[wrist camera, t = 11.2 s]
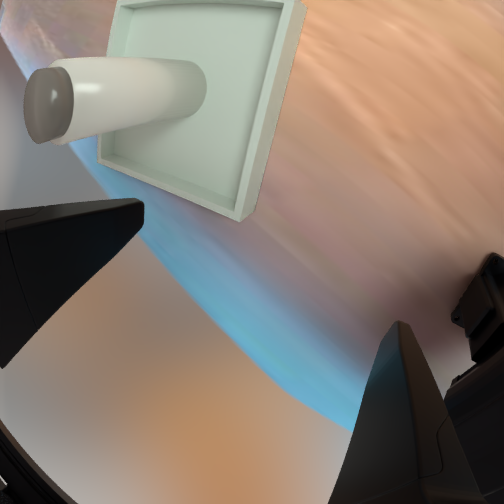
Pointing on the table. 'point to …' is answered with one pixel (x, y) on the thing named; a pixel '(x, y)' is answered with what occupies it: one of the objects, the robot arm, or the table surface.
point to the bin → (208, 96)
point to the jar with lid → (109, 95)
